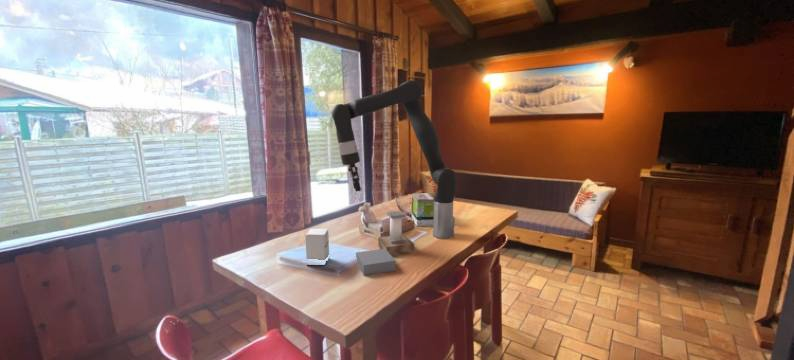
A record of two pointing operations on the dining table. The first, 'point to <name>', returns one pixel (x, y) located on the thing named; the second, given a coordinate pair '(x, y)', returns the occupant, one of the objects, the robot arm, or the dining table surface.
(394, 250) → the stand
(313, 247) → the supplement box
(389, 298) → the dining table surface
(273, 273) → the dining table surface
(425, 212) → the tea box
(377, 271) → the stand
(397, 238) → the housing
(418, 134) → the robot arm
